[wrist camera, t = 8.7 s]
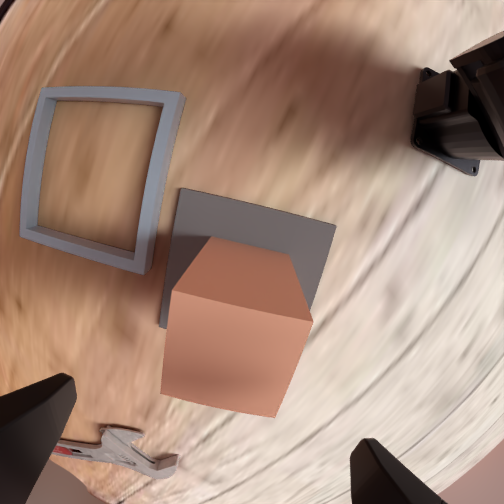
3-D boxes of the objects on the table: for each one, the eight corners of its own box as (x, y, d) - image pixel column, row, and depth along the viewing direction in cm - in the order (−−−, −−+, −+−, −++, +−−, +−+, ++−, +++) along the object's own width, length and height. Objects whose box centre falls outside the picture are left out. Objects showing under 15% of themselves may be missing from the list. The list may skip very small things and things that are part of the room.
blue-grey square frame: (186, 98, 17) (180, 92, 15) (151, 268, 20) (143, 275, 18) (52, 91, 16) (41, 87, 15) (30, 232, 19) (19, 236, 18)
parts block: (288, 254, 19) (313, 321, 10) (269, 322, 20) (274, 417, 11) (211, 236, 19) (172, 289, 10) (197, 306, 20) (160, 393, 11)
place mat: (335, 225, 19) (336, 226, 18) (292, 354, 21) (292, 357, 21) (182, 188, 18) (181, 188, 18) (160, 324, 21) (158, 326, 20)
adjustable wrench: (10, 402, 26) (3, 411, 24) (164, 424, 24) (158, 440, 22) (39, 442, 28) (34, 450, 26) (191, 468, 26) (187, 482, 24)
